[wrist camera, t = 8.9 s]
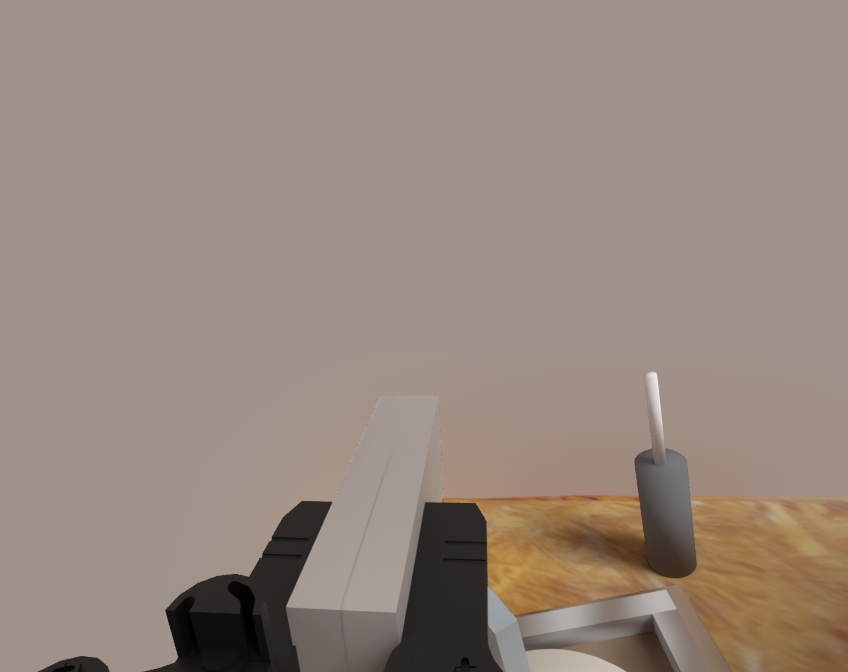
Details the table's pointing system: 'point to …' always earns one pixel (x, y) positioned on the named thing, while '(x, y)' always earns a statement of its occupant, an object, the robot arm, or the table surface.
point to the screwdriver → (664, 498)
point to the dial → (533, 667)
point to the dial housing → (629, 632)
